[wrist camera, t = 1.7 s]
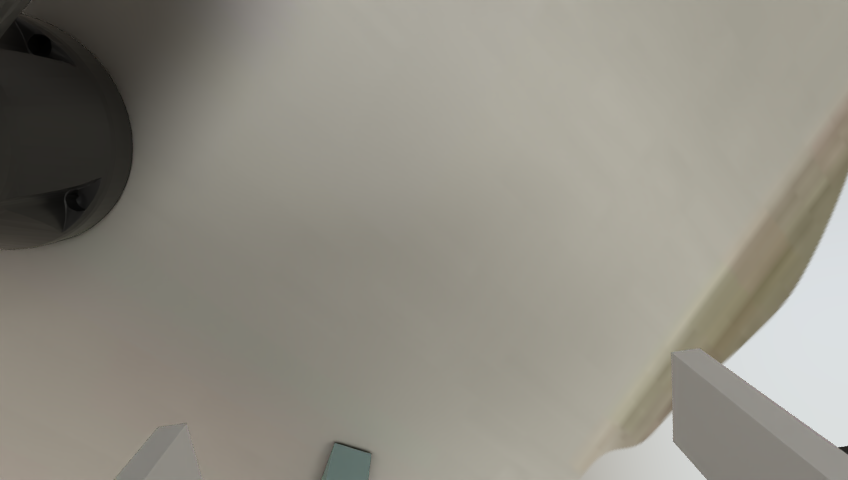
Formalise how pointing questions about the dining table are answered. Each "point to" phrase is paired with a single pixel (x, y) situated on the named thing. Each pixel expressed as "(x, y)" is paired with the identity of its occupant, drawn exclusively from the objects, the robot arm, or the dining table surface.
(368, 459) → the teal block
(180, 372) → the dining table surface
